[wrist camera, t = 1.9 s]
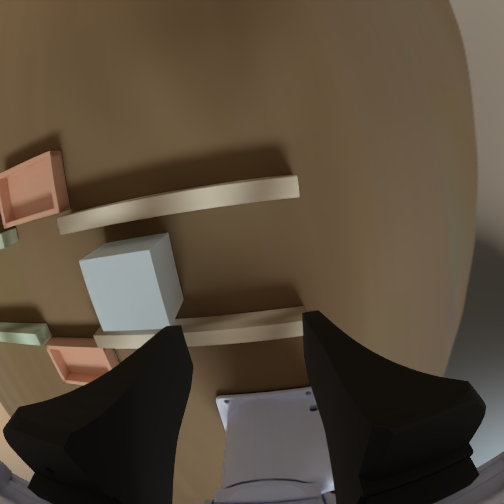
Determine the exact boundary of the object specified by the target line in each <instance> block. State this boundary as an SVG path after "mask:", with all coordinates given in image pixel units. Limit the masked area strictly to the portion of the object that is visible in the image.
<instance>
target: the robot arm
mask: <svg viewBox="0 0 504 504" xmlns="http://www.w3.org/2000/svg"><path fill="white" fill-rule="evenodd" d="M302 323H303V342H304V358H305V363H306V369H307V374H308V379H309V382H310V385H311V386H310V387H304V388H297V389H289V390H281V391H272V392H262V393H251V394H238V395H221V396H217V398H216V404H217V407H218V410H219V413H220V416H221V419H222V422H223V425H224V428H225V431H226V438H225V450H224V462H223V474H222V486H221V489H215V497H214V500H206V501H204V503H203V504H504V452H502V453H501V454H499V455H498V456H496V457H495V458H493V459H491V460H490V461H488V462H486V463H485V464H483V465H481V466H480V467H478V468H476V467H475V465H474V463H473V461H472V460H471V458H470V456H471V455H472V454H473V449H472V447H471V446H470V444H469V442H470V440H471V439H472V437H473V435H474V434H475V432H476V431H477V429H478V427H479V426H480V424H481V422H482V420H483V418H484V415H485V410H486V405H485V403H484V401H483V400H482V398H481V397H480V396H479V394H478V393H477V392H476V390H475V389H474V388H473V387H472V386H471V384H470V383H469V382H468V381H463V380H456V379H449V378H443V377H438V376H434V375H430V374H426V373H422V372H419V371H416V370H413V369H410V368H407V367H405V366H402V365H399V364H397V363H394V362H392V361H390V360H388V359H386V358H384V357H382V356H380V355H378V354H376V353H374V352H372V351H371V350H369V349H367V348H366V347H364V346H362V345H361V344H359V343H358V342H356V341H355V340H353V339H352V338H351V337H349V336H348V335H347V334H346V333H344V332H343V331H342V330H340V329H339V328H338V327H337V326H336V325H334V324H333V323H332V322H331V321H330V320H329V319H328V318H326V317H325V316H324V315H323V314H322V313H321V312H320V311H311V312H304V313H302ZM192 374H193V364H192V360H191V357H190V354H189V351H188V347H187V344H186V341H185V337H184V334H183V330H182V326H181V325H175V326H166V327H164V328H163V329H161V330H160V331H159V332H158V333H156V334H155V335H154V336H153V337H152V338H151V339H149V340H148V341H147V342H146V343H145V344H143V345H142V346H141V347H140V348H139V349H138V350H136V351H135V352H134V353H133V354H131V355H130V356H129V357H127V358H126V359H125V360H123V361H122V362H121V363H120V364H118V365H117V366H116V367H114V368H113V369H111V370H110V371H108V372H107V373H105V374H103V375H102V376H100V377H98V378H97V379H95V380H93V381H91V382H89V383H87V384H85V385H83V386H81V387H79V388H77V389H75V390H73V391H71V392H69V393H66V394H64V395H61V396H58V397H55V398H52V399H50V400H46V401H43V402H39V403H35V404H31V405H26V406H21V407H19V408H18V409H17V410H16V412H15V413H14V414H13V416H12V417H11V419H10V420H9V422H8V423H7V424H6V426H5V427H4V429H3V433H4V437H5V439H6V441H7V442H8V444H9V445H10V446H11V448H12V449H13V450H14V451H15V452H16V453H17V454H18V455H19V457H20V458H21V459H22V460H23V461H24V462H25V463H26V464H27V465H28V466H29V467H30V468H31V469H32V470H33V471H34V472H35V473H34V475H33V477H32V479H31V481H30V482H28V481H26V480H24V479H22V478H20V477H19V476H17V475H15V474H13V473H12V472H11V470H9V468H8V467H7V466H6V465H4V463H3V462H1V461H0V504H172V496H173V475H174V463H175V454H176V446H177V440H178V435H179V430H180V427H181V423H182V419H183V415H184V412H185V408H186V404H187V401H188V397H189V393H190V389H191V383H192ZM308 391H310V392H308ZM332 490H335V496H334V495H332V494H331V493H330V492H329V491H332ZM326 492H327V493H326Z"/></svg>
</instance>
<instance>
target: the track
mask: <svg viewBox="0 0 504 504" xmlns="http://www.w3.org/2000/svg"><path fill="white" fill-rule="evenodd" d="M295 197H300V196H299V186H298V177H297V176H296V175H293V174H291V175H282V176H273V177H264V178H256V179H248V180H240V181H233V182H226V183H219V184H212V185H206V186H199V187H193V188H187V189H181V190H176V191H170V192H164V193H159V194H154V195H149V196H143V197H138V198H133V199H129V200H124V201H119V202H115V203H110V204H106V205H101V206H97V207H92V208H88V209H84V210H80V211H76V212H72V213H69V214H66V215H64V216H61V217H59V218H57V223H58V227H59V232H60V235H63V234H68V233H72V232H77V231H82V230H87V229H92V228H97V227H102V226H107V225H112V224H118V223H123V222H128V221H134V220H140V219H145V218H151V217H157V216H163V215H169V214H175V213H182V212H188V211H195V210H201V209H208V208H215V207H222V206H229V205H237V204H244V203H252V202H260V201H268V200H277V199H286V198H295ZM16 242H19V239H18V235H17V231H16V228H14V229H11V230H8V231H4V232H1V233H0V249H3V248H6V247H8V246H10V245H12V244H14V243H16ZM304 312H306V310H305V307H304V306H299V307H291V308H283V309H275V310H267V311H258V312H249V313H240V314H230V315H220V316H209V317H197V318H184V319H175V320H174V322H173V325H172V326H175V325H181V326H182V330H183V334H184V337H185V341H186V344H187V347H194V346H210V345H223V344H235V343H246V342H256V341H265V340H274V339H282V338H290V337H297V336H303V323H302V313H304ZM160 330H161V329H149V330H128V331H103V329H102V327H101V326H100V328H99V329H98V330H97V331H96V333H95V334H94V335H93V337H94V339H95V341H96V344H97V346H98V348H118V349H130V348H140V347H141V346H142V345H143V344H145V343H146V342H147V341H148V340H149V339H151V338H152V337H153V336H154V335H155V334H156V333H158V332H159V331H160ZM50 335H51V333H50V330H49V328H48V326H47V323H8V322H0V341H2V342H10V343H20V344H30V345H42V343H43V342H44V341H45V340H46V339H47V338H48V337H49V336H50Z"/></svg>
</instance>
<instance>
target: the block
mask: <svg viewBox="0 0 504 504" xmlns="http://www.w3.org/2000/svg"><path fill="white" fill-rule="evenodd" d="M79 263H80V266H81V270H82V273H83V276H84V279H85V283H86V286H87V289H88V292H89V294H90V297H91V300H92V303H93V306H94V309H95V311H96V314H97V317H98V319H99V322H100V324H101V327H102V329H103V331H128V330H149V329H163V328H164V327H166V326H172V325H173V322H174V320H175V318H176V316H177V313H178V311H179V309H180V307H181V305H182V302H183V300H184V298H183V294H182V290H181V286H180V282H179V278H178V274H177V270H176V265H175V261H174V257H173V252H172V248H171V243H170V238H169V234H168V232H167V233H161V234H155V235H149V236H143V237H137V238H131V239H125V240H119V241H114V242H108V243H105V244H103V245H102V246H100V247H99V248H97V249H96V250H94V251H93V252H91V253H90V254H88V255H87V256H85V257H84V258H82V259H81V260H79Z"/></svg>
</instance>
